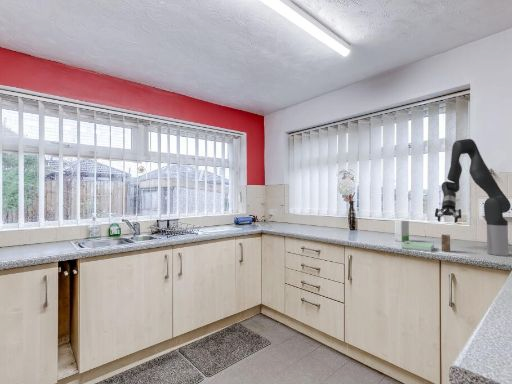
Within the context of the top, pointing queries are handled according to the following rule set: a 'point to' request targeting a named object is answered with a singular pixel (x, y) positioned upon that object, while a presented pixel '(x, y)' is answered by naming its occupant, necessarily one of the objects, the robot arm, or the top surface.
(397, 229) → the skincare box
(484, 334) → the top surface
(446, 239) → the block
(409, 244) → the pale green tray
